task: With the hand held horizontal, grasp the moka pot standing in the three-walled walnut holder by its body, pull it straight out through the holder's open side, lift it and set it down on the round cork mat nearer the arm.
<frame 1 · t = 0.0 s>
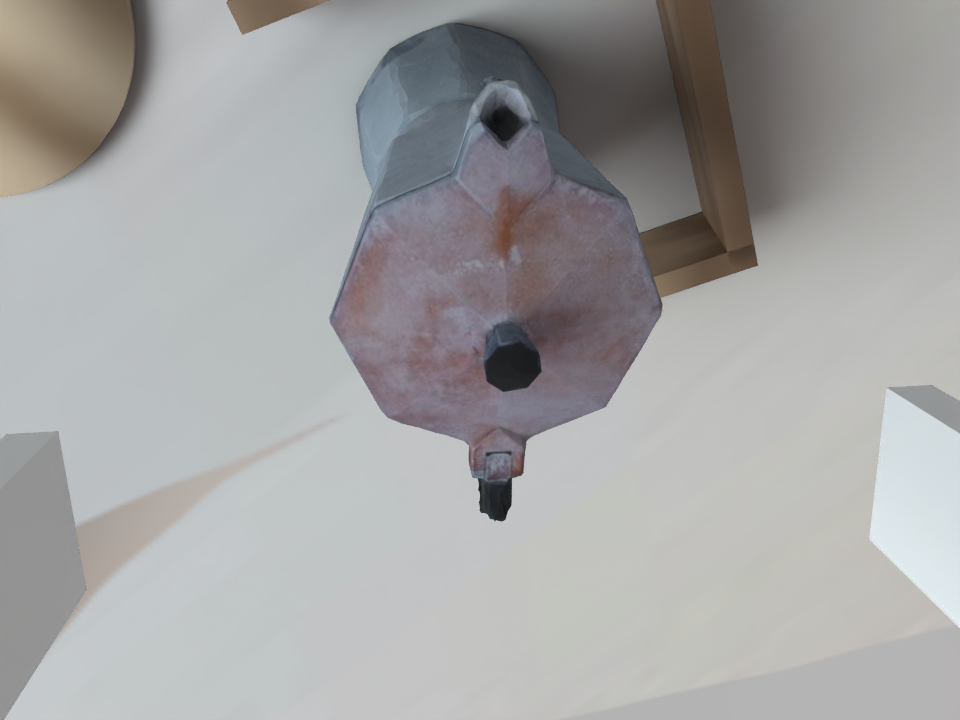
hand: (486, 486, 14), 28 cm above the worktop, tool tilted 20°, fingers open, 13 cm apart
walnut holder: (462, 132, 40), on the worktop
moka pot: (461, 130, 40), on the worktop
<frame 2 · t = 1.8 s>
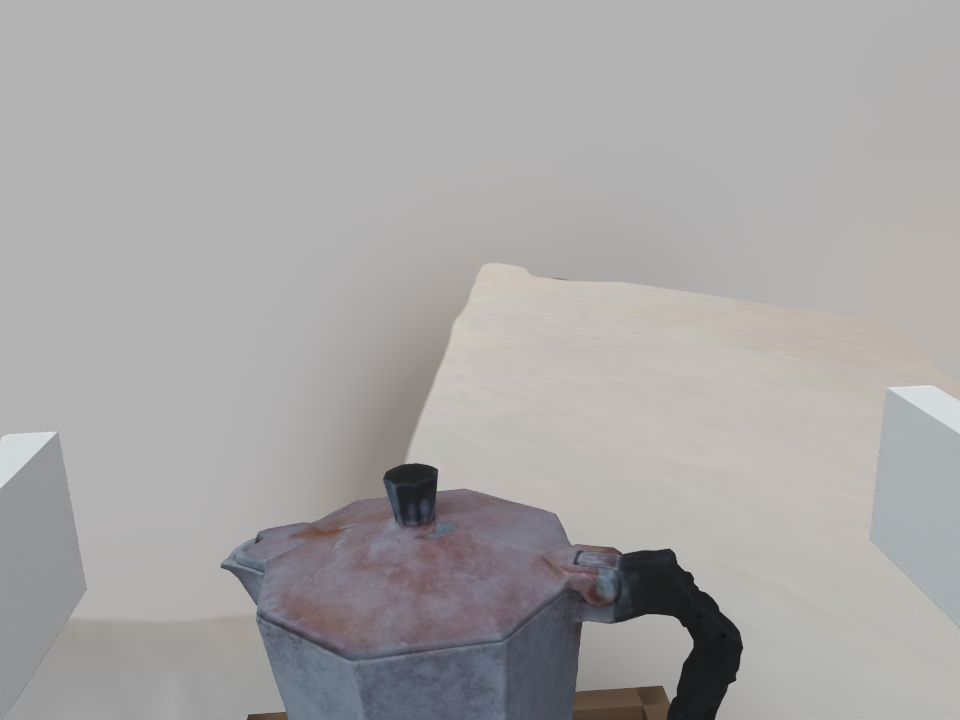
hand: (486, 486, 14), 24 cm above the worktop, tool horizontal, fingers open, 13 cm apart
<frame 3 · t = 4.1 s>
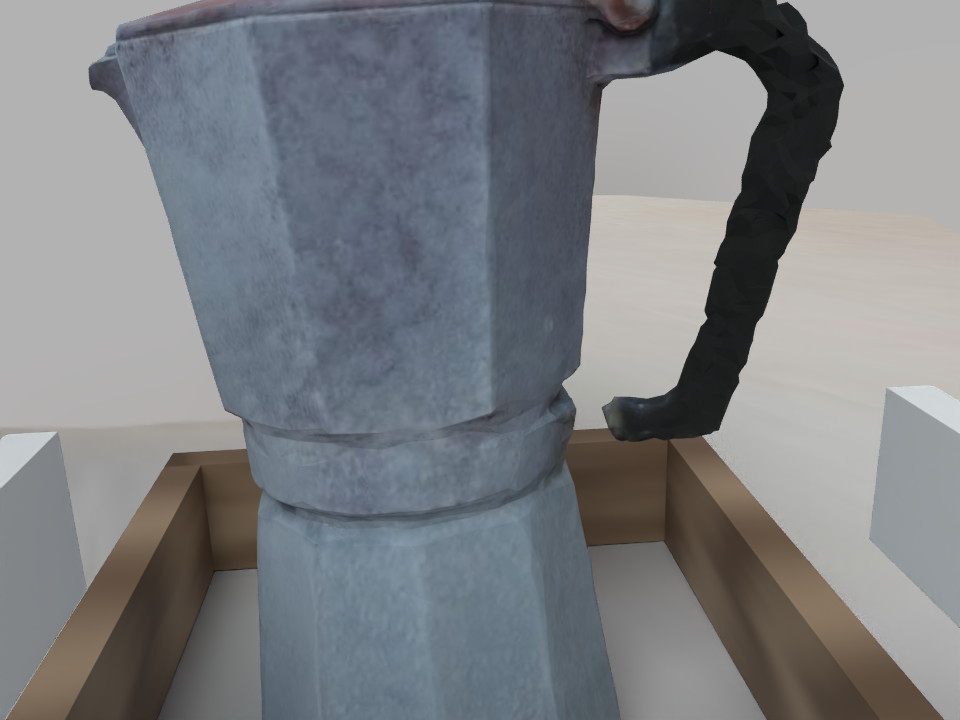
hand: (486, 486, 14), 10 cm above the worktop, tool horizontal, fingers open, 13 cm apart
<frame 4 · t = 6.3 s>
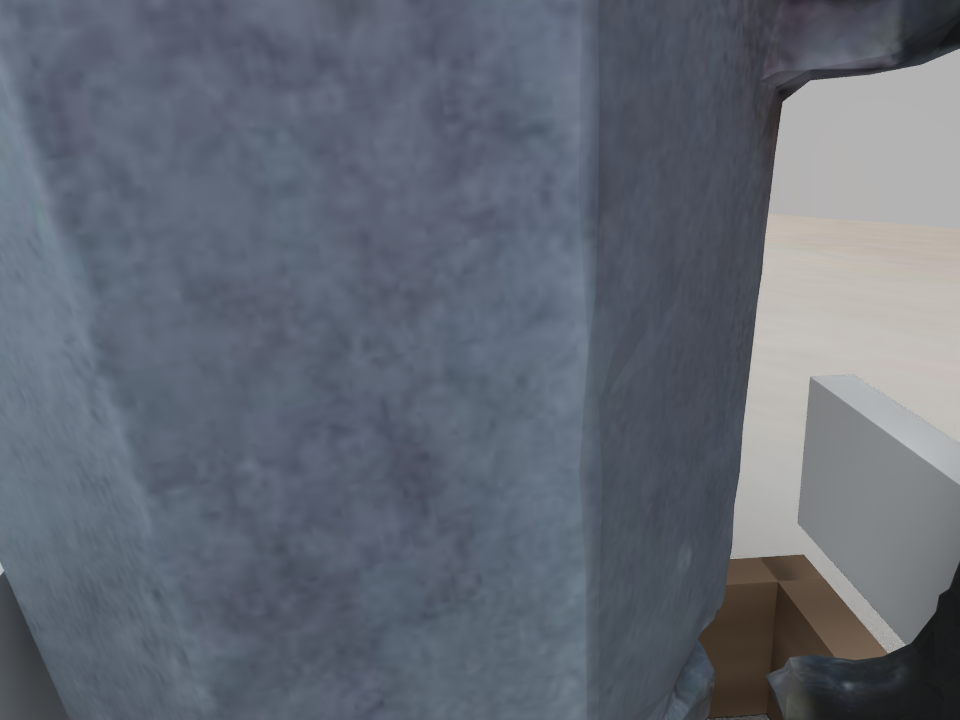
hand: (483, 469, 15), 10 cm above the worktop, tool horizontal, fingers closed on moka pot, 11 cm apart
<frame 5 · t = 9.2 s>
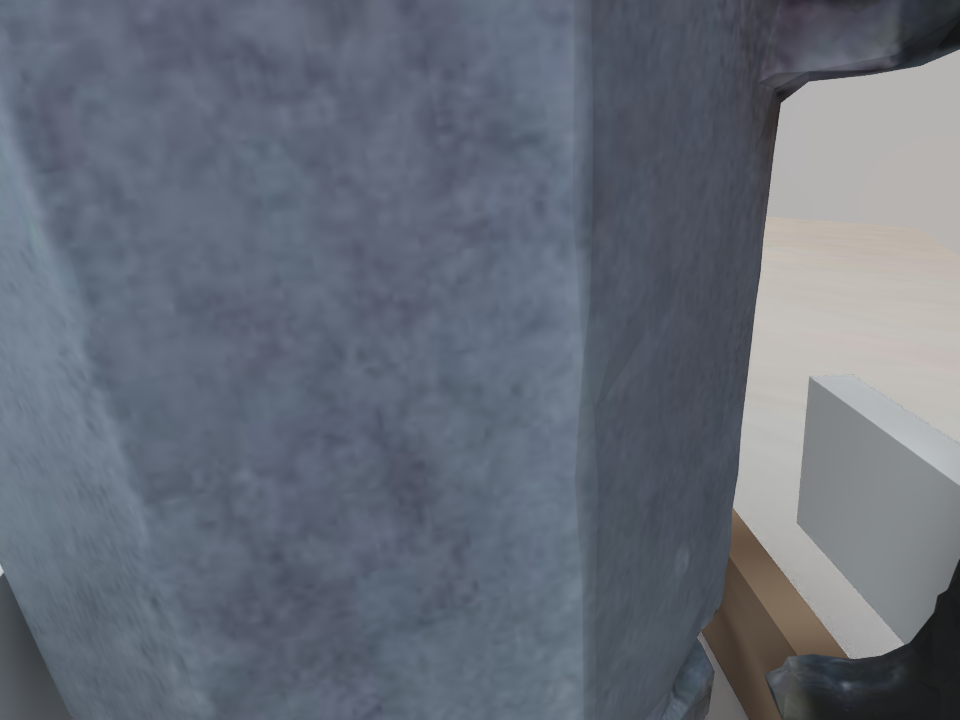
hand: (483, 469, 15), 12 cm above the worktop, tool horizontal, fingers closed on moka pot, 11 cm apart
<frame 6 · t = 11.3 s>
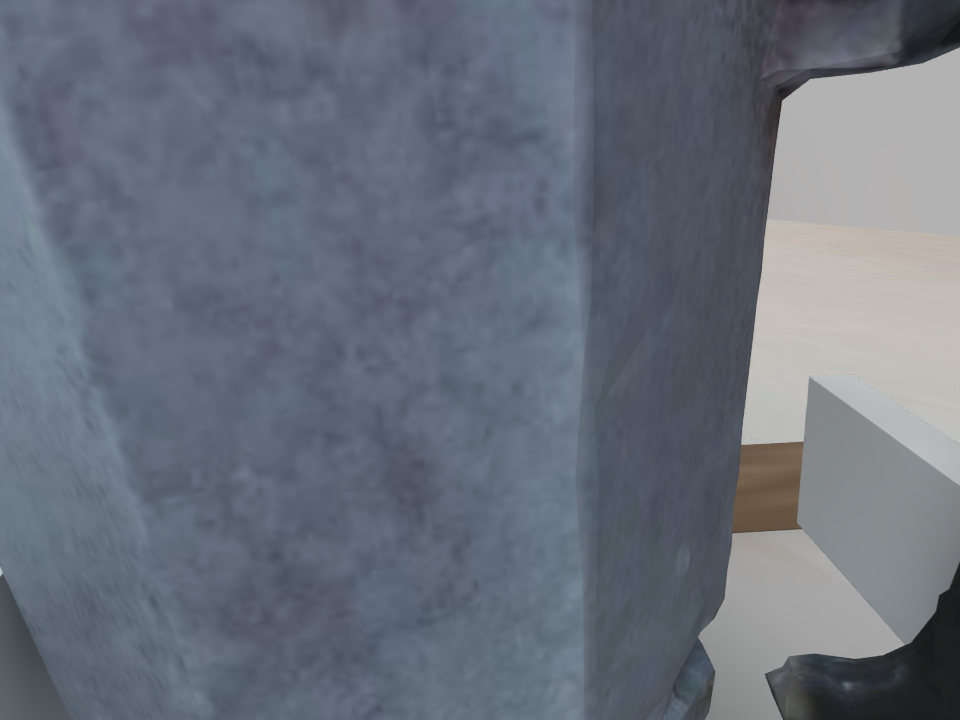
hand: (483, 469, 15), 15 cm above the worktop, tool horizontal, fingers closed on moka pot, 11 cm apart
walnut holder: (791, 656, 34), on the worktop
when the fingers open (12 cm above the worktop, at t = 12.3 s): moka pot drops 1 cm, point 1 cm above the worktop.
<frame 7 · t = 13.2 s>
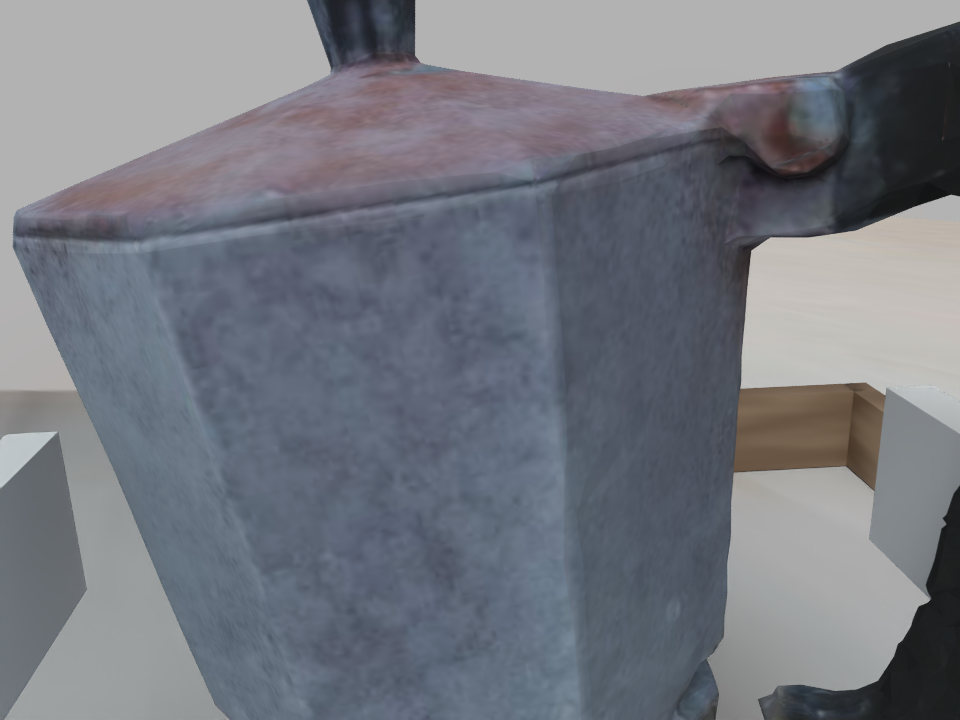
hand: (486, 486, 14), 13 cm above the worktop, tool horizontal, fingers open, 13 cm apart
walnut holder: (762, 572, 36), on the worktop
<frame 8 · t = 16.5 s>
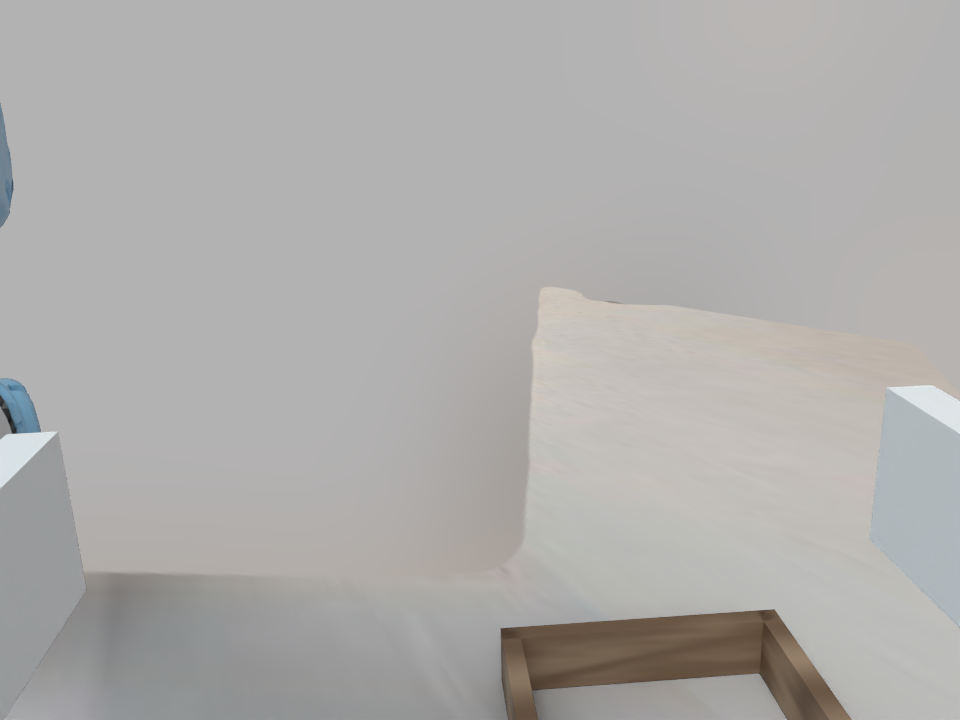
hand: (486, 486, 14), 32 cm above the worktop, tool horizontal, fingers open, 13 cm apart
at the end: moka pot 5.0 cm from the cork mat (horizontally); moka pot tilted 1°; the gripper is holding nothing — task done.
